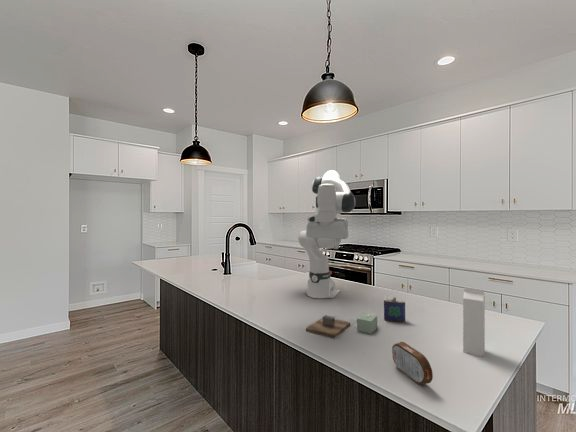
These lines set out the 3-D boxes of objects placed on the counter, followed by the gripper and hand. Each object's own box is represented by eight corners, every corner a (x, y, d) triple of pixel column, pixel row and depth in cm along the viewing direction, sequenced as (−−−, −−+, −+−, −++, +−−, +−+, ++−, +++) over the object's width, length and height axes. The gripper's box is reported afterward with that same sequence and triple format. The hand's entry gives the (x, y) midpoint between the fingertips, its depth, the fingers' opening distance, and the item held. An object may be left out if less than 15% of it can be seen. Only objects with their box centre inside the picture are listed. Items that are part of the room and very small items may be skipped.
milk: (465, 346, 108) (464, 285, 108) (485, 350, 105) (484, 288, 105) (463, 352, 103) (462, 289, 103) (483, 357, 100) (483, 291, 100)
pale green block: (356, 330, 123) (356, 317, 123) (363, 324, 130) (363, 312, 130) (371, 333, 120) (371, 320, 120) (377, 327, 126) (377, 314, 126)
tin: (433, 389, 82) (433, 359, 82) (424, 391, 81) (424, 360, 81) (398, 363, 96) (398, 337, 96) (390, 364, 95) (390, 338, 95)
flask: (405, 320, 134) (405, 297, 134) (405, 323, 131) (405, 298, 131) (383, 318, 137) (383, 295, 136) (384, 321, 134) (383, 297, 134)
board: (323, 319, 136) (323, 316, 136) (350, 325, 129) (350, 322, 129) (305, 330, 123) (305, 327, 123) (334, 338, 116) (334, 335, 116)
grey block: (325, 325, 128) (325, 315, 128) (334, 328, 126) (334, 317, 126) (322, 327, 126) (322, 316, 126) (332, 330, 124) (332, 318, 124)
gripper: (350, 218, 133) (350, 249, 133) (311, 218, 145) (311, 246, 145) (344, 218, 128) (344, 250, 128) (304, 218, 140) (304, 247, 140)
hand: (326, 248), depth 136 cm, fingers open, 8 cm apart
